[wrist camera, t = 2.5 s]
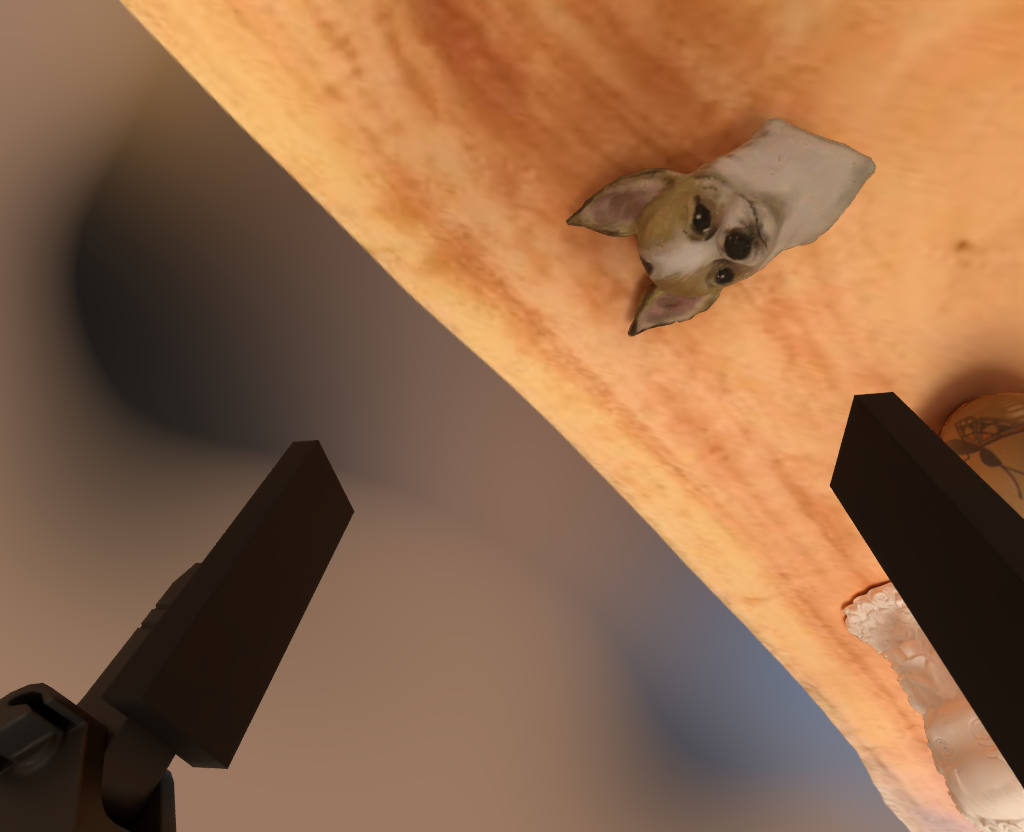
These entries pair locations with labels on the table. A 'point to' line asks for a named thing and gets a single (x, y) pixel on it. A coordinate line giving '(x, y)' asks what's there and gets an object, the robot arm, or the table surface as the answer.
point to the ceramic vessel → (992, 442)
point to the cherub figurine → (941, 713)
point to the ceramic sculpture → (725, 215)
